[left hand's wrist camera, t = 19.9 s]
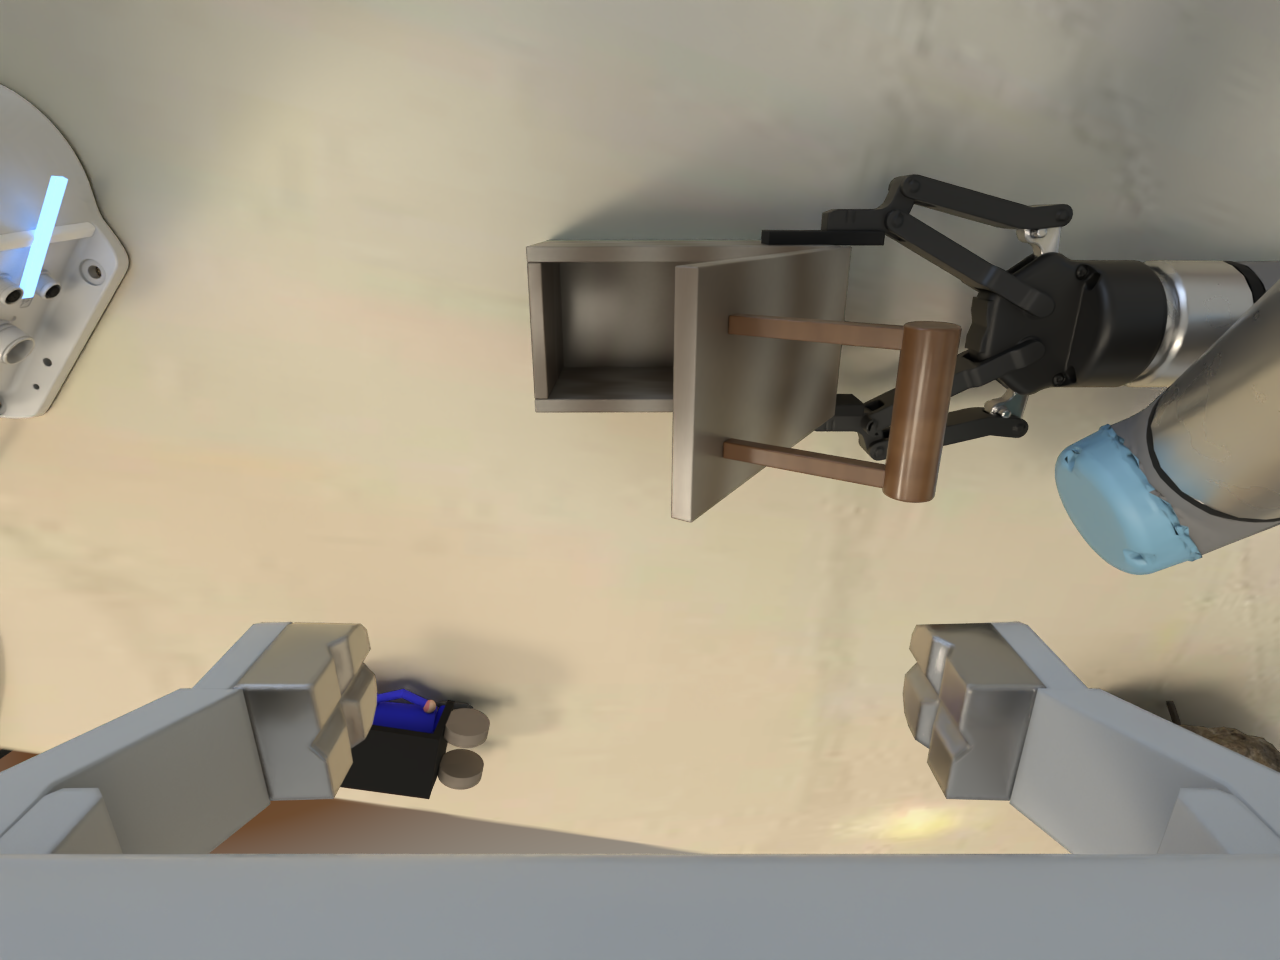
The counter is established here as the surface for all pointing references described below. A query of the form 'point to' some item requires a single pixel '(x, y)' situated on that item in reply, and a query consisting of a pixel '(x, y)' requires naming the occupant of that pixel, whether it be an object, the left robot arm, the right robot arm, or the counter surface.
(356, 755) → the figurine character
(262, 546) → the counter surface
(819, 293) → the lid
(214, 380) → the counter surface
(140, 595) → the counter surface
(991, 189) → the counter surface
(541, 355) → the chest
